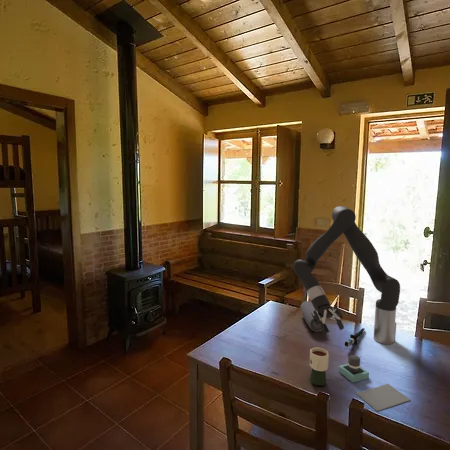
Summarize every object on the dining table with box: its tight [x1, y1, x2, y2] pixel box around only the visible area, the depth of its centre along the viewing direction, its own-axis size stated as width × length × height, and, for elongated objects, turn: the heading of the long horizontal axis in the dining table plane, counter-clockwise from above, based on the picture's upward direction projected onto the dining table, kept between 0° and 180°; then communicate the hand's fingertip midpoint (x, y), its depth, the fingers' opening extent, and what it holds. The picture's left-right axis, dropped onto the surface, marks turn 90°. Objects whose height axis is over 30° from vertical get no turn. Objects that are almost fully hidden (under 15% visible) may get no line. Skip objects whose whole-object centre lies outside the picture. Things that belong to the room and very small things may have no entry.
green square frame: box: [338, 363, 370, 383], centre depth 133 cm, size 8×8×2 cm
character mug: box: [309, 347, 330, 386], centre depth 127 cm, size 11×7×13 cm, turn 153°
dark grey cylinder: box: [347, 354, 361, 375], centre depth 132 cm, size 5×5×8 cm
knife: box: [344, 327, 365, 348], centre depth 161 cm, size 31×3×4 cm, turn 137°
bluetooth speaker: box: [299, 300, 323, 333], centre depth 179 cm, size 23×9×10 cm, turn 179°
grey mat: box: [355, 383, 411, 412], centre depth 119 cm, size 16×10×1 cm, turn 111°
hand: (335, 331), depth 141 cm, fingers open, 8 cm apart
